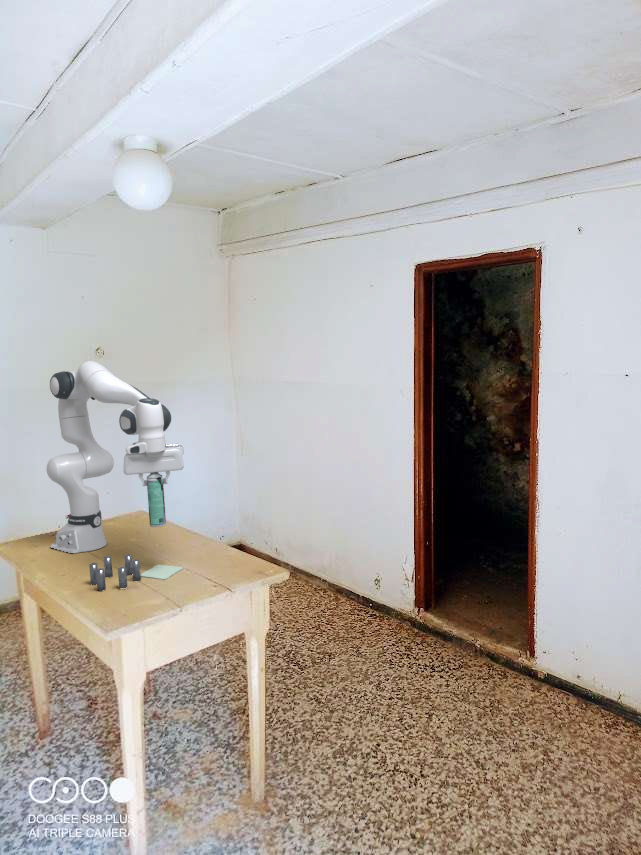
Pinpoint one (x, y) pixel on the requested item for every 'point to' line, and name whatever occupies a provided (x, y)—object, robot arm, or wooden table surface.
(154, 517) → the spray can
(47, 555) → the wooden table surface
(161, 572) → the mat
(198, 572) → the wooden table surface
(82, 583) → the wooden table surface
